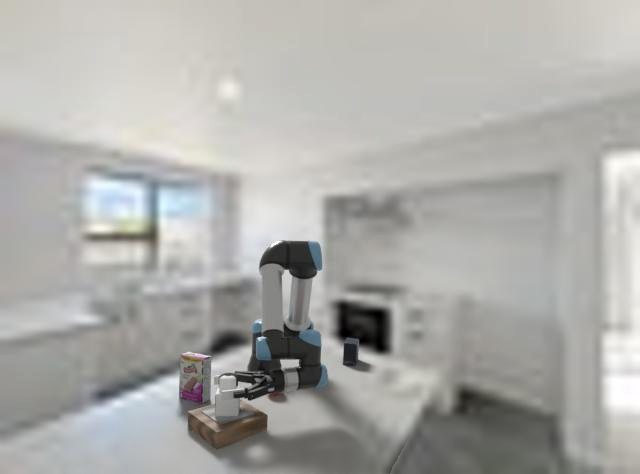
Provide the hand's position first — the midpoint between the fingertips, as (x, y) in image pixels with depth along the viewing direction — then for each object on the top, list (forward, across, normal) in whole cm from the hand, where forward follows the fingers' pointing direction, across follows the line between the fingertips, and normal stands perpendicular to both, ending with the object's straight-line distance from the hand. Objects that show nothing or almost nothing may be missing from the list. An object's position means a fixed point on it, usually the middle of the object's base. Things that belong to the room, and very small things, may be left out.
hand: (217, 387), depth 137 cm
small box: (-72, +48, -14) cm, 88 cm away
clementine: (-26, +22, -14) cm, 37 cm away
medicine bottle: (-3, 0, -8) cm, 9 cm away
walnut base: (-3, 0, -14) cm, 14 cm away
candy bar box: (+4, +27, -14) cm, 31 cm away
